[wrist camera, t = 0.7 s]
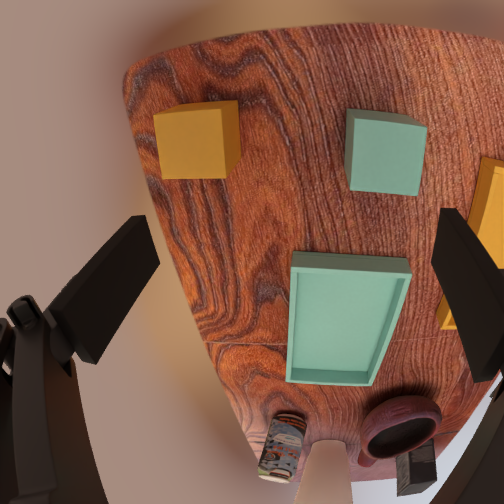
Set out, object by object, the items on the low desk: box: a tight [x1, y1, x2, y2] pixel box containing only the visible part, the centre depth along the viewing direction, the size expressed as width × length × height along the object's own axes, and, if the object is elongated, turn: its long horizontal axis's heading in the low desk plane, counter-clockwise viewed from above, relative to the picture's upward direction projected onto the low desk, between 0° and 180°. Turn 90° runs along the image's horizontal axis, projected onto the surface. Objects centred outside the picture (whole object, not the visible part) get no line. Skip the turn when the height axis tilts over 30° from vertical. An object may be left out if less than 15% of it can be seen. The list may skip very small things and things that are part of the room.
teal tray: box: [286, 251, 412, 386], centre depth 33 cm, size 18×11×3 cm, turn 3°
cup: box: [294, 440, 353, 504], centre depth 47 cm, size 12×12×16 cm
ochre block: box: [153, 100, 241, 179], centre depth 23 cm, size 5×5×5 cm
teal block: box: [344, 108, 427, 196], centre depth 21 cm, size 5×5×5 cm
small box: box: [396, 438, 437, 497], centre depth 47 cm, size 11×6×10 cm, turn 8°
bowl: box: [358, 395, 442, 467], centre depth 39 cm, size 16×13×8 cm
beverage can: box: [258, 414, 307, 483], centre depth 44 cm, size 6×7×12 cm
